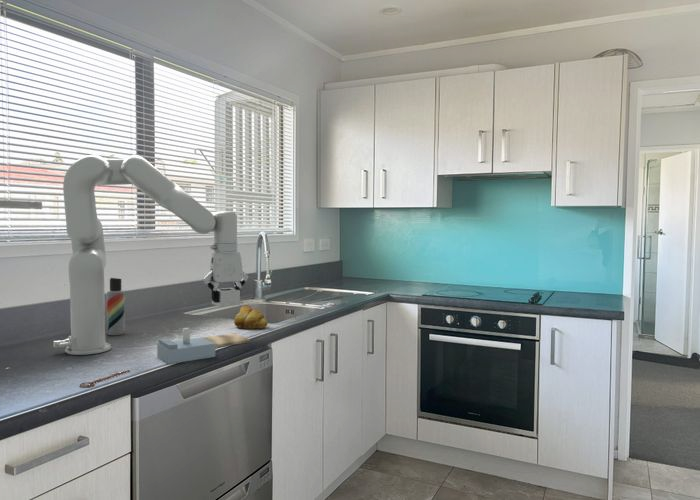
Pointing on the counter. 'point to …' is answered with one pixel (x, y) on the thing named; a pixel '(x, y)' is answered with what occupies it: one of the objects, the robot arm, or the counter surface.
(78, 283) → the robot arm
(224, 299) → the grey block with hole
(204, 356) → the vise block
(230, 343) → the cork mat
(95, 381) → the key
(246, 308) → the bread roll
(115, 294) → the lotion bottle
